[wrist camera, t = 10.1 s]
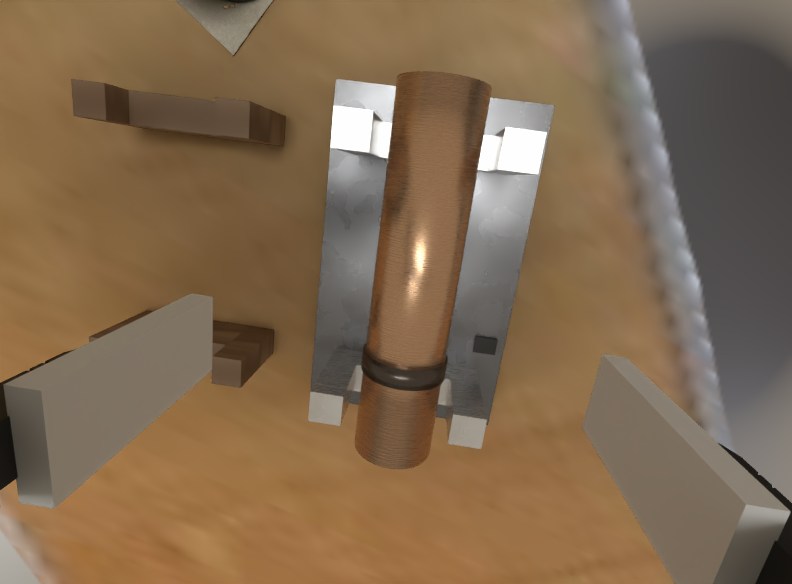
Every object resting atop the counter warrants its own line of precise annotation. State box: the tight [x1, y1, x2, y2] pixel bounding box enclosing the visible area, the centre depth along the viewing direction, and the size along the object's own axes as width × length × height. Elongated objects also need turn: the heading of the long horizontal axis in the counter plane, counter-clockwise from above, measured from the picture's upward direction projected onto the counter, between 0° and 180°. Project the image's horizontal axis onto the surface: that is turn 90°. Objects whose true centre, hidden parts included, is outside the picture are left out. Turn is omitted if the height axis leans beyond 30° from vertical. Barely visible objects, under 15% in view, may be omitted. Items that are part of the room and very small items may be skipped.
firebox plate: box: [308, 79, 555, 449], centre depth 28 cm, size 23×14×8 cm, turn 173°
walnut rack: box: [71, 79, 286, 388], centre depth 30 cm, size 18×11×6 cm, turn 173°
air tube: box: [355, 71, 492, 469], centre depth 25 cm, size 22×5×5 cm, turn 173°
